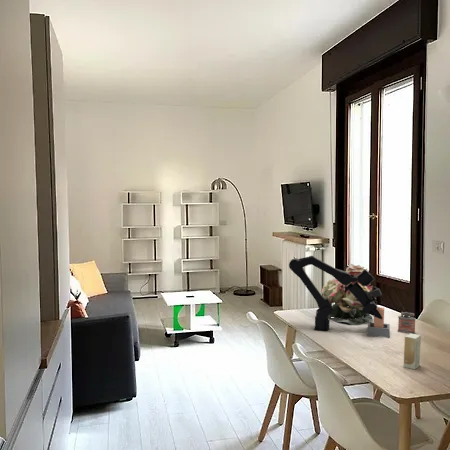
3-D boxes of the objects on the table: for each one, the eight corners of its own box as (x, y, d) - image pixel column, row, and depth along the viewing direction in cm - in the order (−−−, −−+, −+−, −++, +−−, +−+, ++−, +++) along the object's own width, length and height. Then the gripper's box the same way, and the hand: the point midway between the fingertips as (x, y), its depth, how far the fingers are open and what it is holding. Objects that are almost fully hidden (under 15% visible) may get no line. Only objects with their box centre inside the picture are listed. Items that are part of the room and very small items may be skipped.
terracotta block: (373, 331, 238) (374, 308, 238) (373, 329, 243) (374, 306, 242) (383, 332, 237) (384, 309, 236) (383, 330, 241) (384, 307, 241)
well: (367, 335, 237) (367, 327, 236) (368, 330, 246) (368, 322, 246) (389, 337, 234) (389, 329, 233) (389, 332, 243) (389, 324, 243)
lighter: (397, 332, 244) (398, 311, 243) (398, 330, 247) (399, 310, 246) (414, 334, 240) (415, 314, 240) (415, 332, 243) (416, 312, 243)
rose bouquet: (314, 316, 273) (315, 262, 272) (356, 312, 286) (357, 260, 284) (344, 327, 250) (346, 268, 249) (388, 322, 263) (390, 266, 261)
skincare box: (408, 363, 197) (410, 332, 196) (420, 365, 194) (421, 334, 194) (402, 367, 192) (404, 336, 191) (414, 369, 189) (415, 338, 189)
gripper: (371, 285, 231) (395, 311, 228) (372, 279, 249) (394, 303, 246) (353, 300, 234) (376, 326, 231) (355, 293, 251) (377, 317, 249)
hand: (382, 317), depth 239 cm, fingers closed on terracotta block, 4 cm apart
